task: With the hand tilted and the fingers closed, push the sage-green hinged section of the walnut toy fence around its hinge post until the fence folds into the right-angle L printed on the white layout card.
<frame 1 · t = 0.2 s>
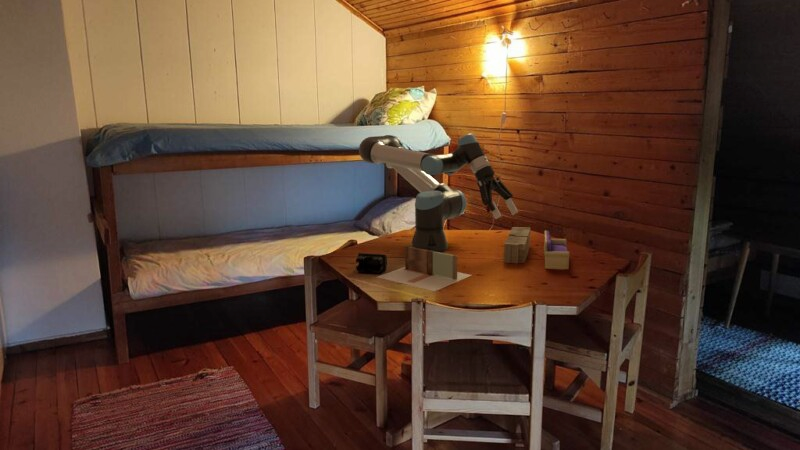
hand: (507, 215, 224), 15 cm above the table, tool tilted 35°, fingers open, 13 cm apart
end cap: (371, 273, 204), on the table
toy sofa: (555, 262, 214), on the table
fence fixed: (430, 274, 199), resting on layout card
block tower: (517, 254, 227), on the table
fence gate: (445, 265, 194), point 5 cm above the table, hinge at 0.0°
layout card: (424, 277, 197), on the table
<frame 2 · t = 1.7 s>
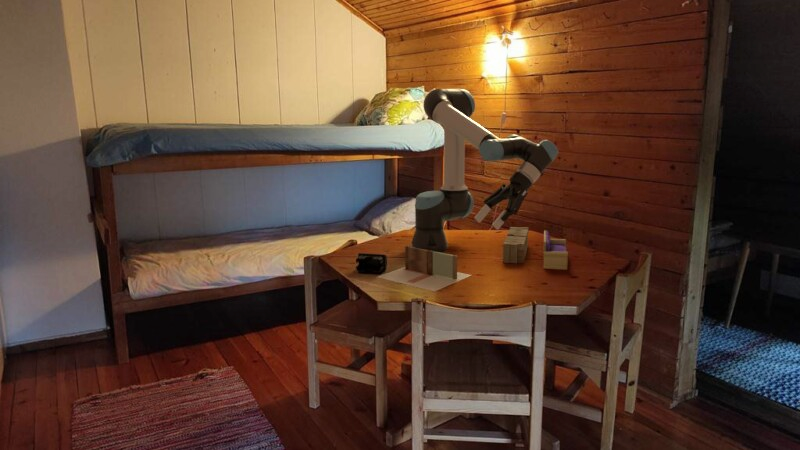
hand: (485, 223, 198), 18 cm above the table, tool tilted 45°, fingers open, 12 cm apart
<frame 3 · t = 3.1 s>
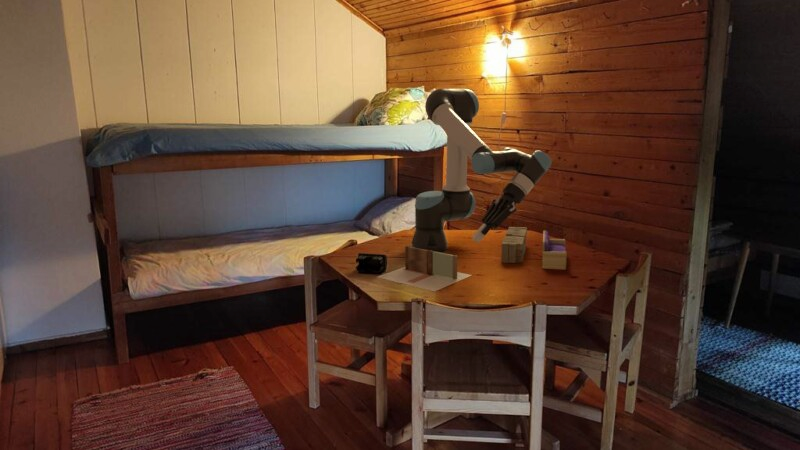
hand: (475, 240, 196), 13 cm above the table, tool tilted 45°, fingers closed
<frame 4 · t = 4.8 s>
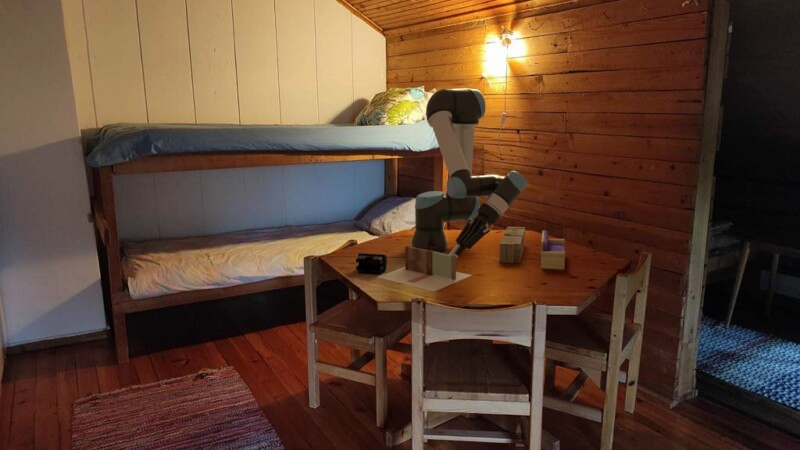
hand: (448, 260, 195), 6 cm above the table, tool tilted 45°, fingers closed
fence gate: (444, 265, 194), point 5 cm above the table, hinge at 4.1°, touching gripper
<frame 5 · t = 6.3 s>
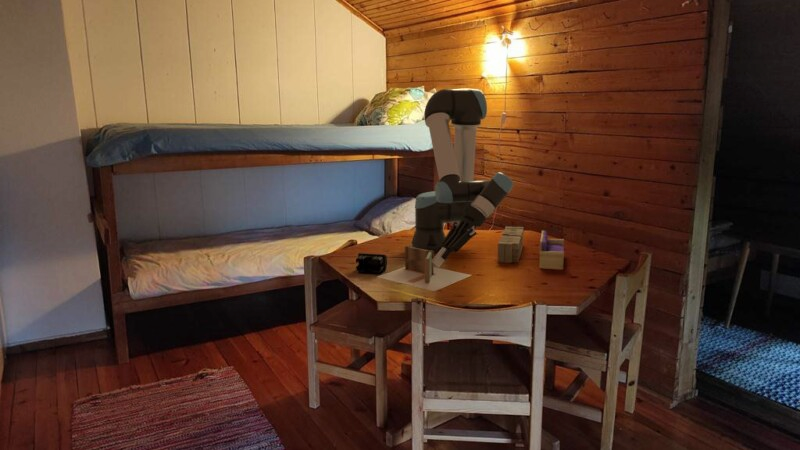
hand: (434, 264, 192), 6 cm above the table, tool tilted 45°, fingers closed
fence gate: (428, 267, 192), point 5 cm above the table, hinge at 59.5°, touching gripper
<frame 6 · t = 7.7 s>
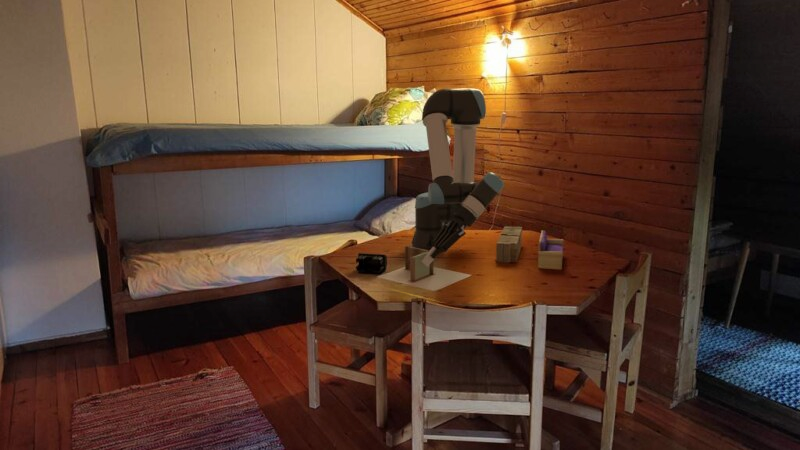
hand: (424, 263, 192), 6 cm above the table, tool tilted 45°, fingers closed
fence gate: (419, 266, 193), point 5 cm above the table, hinge at 88.8°, touching gripper
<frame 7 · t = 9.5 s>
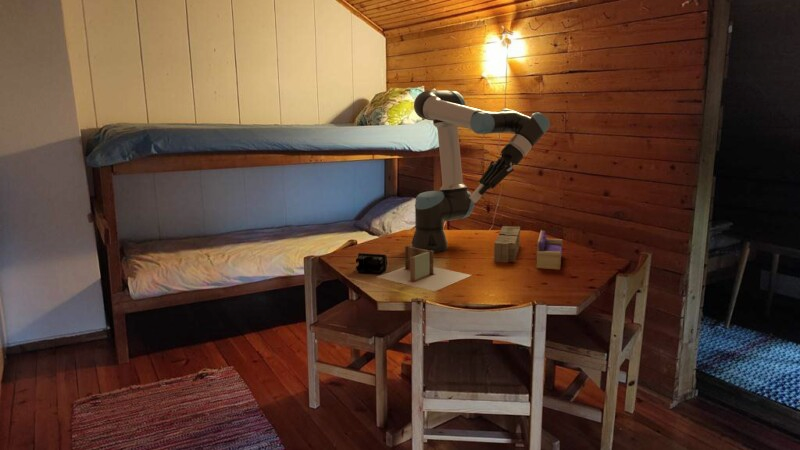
hand: (472, 200, 197), 26 cm above the table, tool tilted 45°, fingers closed
fence gate: (419, 266, 193), point 5 cm above the table, hinge at 88.8°
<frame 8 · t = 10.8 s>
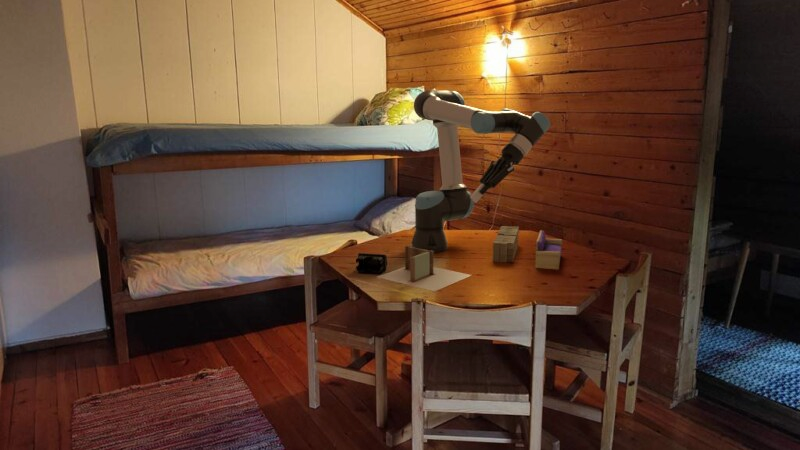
hand: (472, 199, 197), 26 cm above the table, tool tilted 45°, fingers closed
at the end: fence gate at +89° (first picture: +0°) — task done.
